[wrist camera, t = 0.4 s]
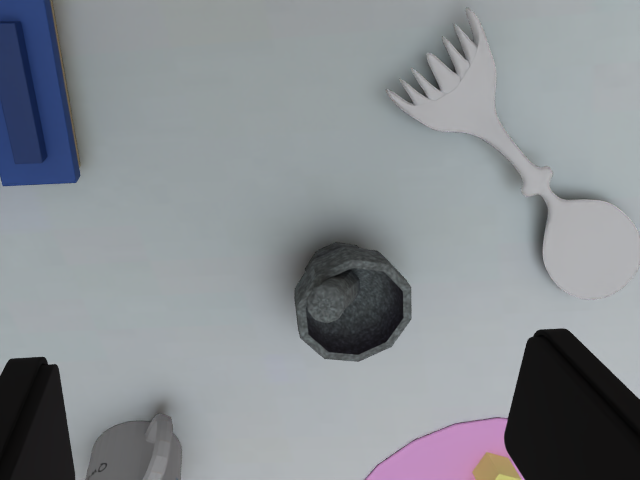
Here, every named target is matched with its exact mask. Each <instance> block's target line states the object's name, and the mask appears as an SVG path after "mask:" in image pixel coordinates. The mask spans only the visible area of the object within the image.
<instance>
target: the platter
mask: <svg viewBox="0 0 640 480" xmlns="http://www.w3.org/2000/svg"><path fill="white" fill-rule="evenodd" d="M507 421H508V419H505V418H492V419H485V420H478V421H471V422H464V423H457V424H454V425H451V426H449V427H446V428H444V429H441V430H439V431H436V432H434V433H431V434H429V435H426V436H423V437H421V438H418V439H416V440H413V441H412V442H411V443H409V444H408V445H406V446H405V447H403V448H402V449H400V450H399V451H397V452H396V453H395V454H393V455H392V456H390V457H389V458H387V459H386V460H384V461H383V462H381V463H380V464H379V465H377V466H376V467H375V469H374V470H373V471H372V472H371V473H370V474H369V475H368V477H367V478H366V479H365V480H525V479H524V478H523V476H522V475H521V473H520V471H519V470H518V468H517V467H516V465H515V464H514V462H513V460H512V459H511V457H510V456H509V454H508V452H507V450H506V447H505V443H504V433H505V429H506V425H507Z"/></svg>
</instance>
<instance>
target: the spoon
mask: <svg viewBox="0 0 640 480" xmlns="http://www.w3.org/2000/svg"><path fill="white" fill-rule="evenodd" d="M465 11H466V15H467V18H468V21H469V24H470V26H471V29H472V33H473V42H472V41H471V40H470V39H469V37H468V36H467V35H466V34H465V33H464V32H463V31H462V29H461V28H460V27H459V26H458V25H456V24H455V23H454V28H455V31H456V34H457V36H458V38H459V41H460V43H461V46H462V48H463V52H464V55H465V58H463V56H462V55H461V54H460V53H459V52H458V51H457V50H456V48H455V47H454V46H453V45H452V44H451V43H450V42H449V40H447V39H446V38H445V37H444V36H442V40H443V43H444V45H445V47H446V49H447V52H448V54H449V56H450V58H451V60H452V62H453V65H454V67H455V72H456V73H454V72H453V71H452V70H450V69H449V68H448V67H447V66H446V65H445V64H444V63H443V62H442V61H441V60H439V59H438V58H437V57H436V56H435V55H433V54H431V53H427V55H426V57H427V61H428V64H429V66H430V68H431V70H432V72H433V74H434V76H435V78H436V81H437V83H438V85H439V89H440V90H438V89H437V88H435V87H434V86H433V85H432V84H430V83H429V82H428V81H427V80H426V79H425V78H424V77H423V76H422V75H421V74H420V73H419V72H418V71H416V70H415V69H414V68H411V71H412V73H413V75H414V76H415V78H416V79H417V81H418V83H419V84H420V86H421V87H422V89H423V91H424V92H425V94H426V97H425V96H423V95H422V94H420V93H419V92H417V91H416V90H415V89H414V88H413V87H411V86H410V85H409V84H408V83H407V82H405V81H404V80H403V79H401V78H400V82H401V84H402V85H403V87H404V88H405V90H406V91H407V93H408V95H409V96H410V98H411V99H412V101H413V102H412V103H409V102H407V101H406V100H404V99H403V98H401V97H400V96H398V95H397V94H396V93H394V92H393V91H391V90H389V89H386V93H387V94H388V96H389V97H390V98H391V100H392V101H393V102H394V103H395V104H396V105H397V106H398V107H399V108H400V109H402V110H403V111H404V112H406V113H407V114H408V115H410V116H412V117H413V118H415V119H416V120H418V121H419V122H421V123H422V124H424V125H426V126H427V127H429V128H431V129H434V130H437V131H443V132H461V133H468V134H472V135H474V136H477V137H479V138H481V139H483V140H485V141H486V142H488V143H489V144H491V145H492V146H493V147H494V148H496V149H497V150H498V151H499V152H500V153H501V154H503V155H504V156H505V157H506V158H507V159H508V160H509V161H510V162H511V163H512V164H513V166H514V167H515V168H516V169H517V171H518V172H519V174H520V175H521V178H522V187H521V191H522V193H523V195H524V196H526V197H530V196H533V195H537V194H538V195H540V196H542V197H543V199H544V200H545V202H546V205H547V208H548V217H547V222H546V227H545V233H544V240H543V261H544V265H545V267H546V270H547V272H548V273H549V275H550V277H551V278H552V280H553V281H554V282H555V283H556V284H557V286H558V287H559V288H560V289H562V290H563V291H564V292H566V293H568V294H570V295H572V296H574V297H577V298H580V299H585V300H595V299H602V298H605V297H608V296H610V295H612V294H614V293H616V292H618V291H619V290H621V289H622V288H623V287H625V286H626V285H627V284H628V283H629V282H630V280H631V279H632V278H633V277H634V275H635V274H636V272H637V270H638V268H639V265H640V235H639V232H638V230H637V228H636V226H635V225H634V223H633V222H632V221H631V219H630V218H629V217H628V216H627V215H626V214H625V213H624V212H623V211H621V210H620V209H619V208H618V207H616V206H614V205H613V204H611V203H608V202H605V201H600V200H589V199H581V200H565V199H561V198H559V197H558V196H557V195H555V194H554V193H553V191H552V190H551V188H550V180H551V178H552V176H553V172H552V170H551V168H550V167H548V166H545V167H538V166H536V165H534V164H533V163H532V162H531V161H530V160H529V159H528V158H527V157H526V156H525V155H524V154H523V152H522V151H521V150H520V149H519V148H518V146H517V145H516V144H515V142H514V141H513V140H512V139H511V137H510V136H509V135H508V133H507V132H506V131H505V129H504V127H503V126H502V124H501V122H500V120H499V118H498V116H497V112H496V107H495V91H496V79H497V74H496V66H495V62H494V59H493V56H492V53H491V50H490V47H489V44H488V41H487V38H486V35H485V32H484V30H483V27H482V25H481V23H480V21H479V19H478V17H477V16H476V14H475V13H474V12H473V11H472V10H471V9H469V8H468V7H466V8H465Z"/></svg>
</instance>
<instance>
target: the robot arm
mask: <svg viewBox="0 0 640 480" xmlns="http://www.w3.org/2000/svg"><path fill="white" fill-rule="evenodd" d="M504 443H505V447H506V450H507V452H508V454H509V456H510V457H511V459H512V460H513V462H514V464H515V465H516V467H517V468H518V470H519V471H520V473H521V475H522V476H523V478H524V479H525V480H640V399H638V398H637V397H636V396H635V395H634V394H633V393H632V392H631V391H630V390H629V389H628V388H627V387H626V386H625V385H624V384H623V383H622V382H621V381H620V380H619V379H618V378H617V377H616V376H615V375H614V374H613V373H612V372H611V371H610V370H609V369H608V368H607V367H606V366H605V365H604V364H603V363H602V362H601V361H600V360H599V359H598V358H596V357H595V356H594V355H593V354H592V353H591V352H590V351H589V350H588V349H587V348H586V347H585V346H584V345H583V344H582V343H581V342H580V341H579V340H578V339H577V338H576V337H575V336H574V335H573V334H572V333H571V332H570V331H568V330H567V329H544V330H538V331H537V332H536V333H535V334H534V336H533V337H531V338H529V339H528V341H527V344H526V348H525V352H524V356H523V360H522V364H521V368H520V372H519V376H518V380H517V384H516V388H515V392H514V396H513V400H512V404H511V408H510V413H509V417H508V421H507V425H506V429H505V433H504ZM0 480H75V471H74V464H73V458H72V451H71V445H70V438H69V432H68V425H67V419H66V412H65V406H64V399H63V393H62V387H61V380H60V374H59V368H58V366H57V365H56V364H52V365H48V363H47V360H46V358H45V357H32V358H14V359H10V360H9V361H8V362H7V364H6V366H5V368H4V370H3V372H2V374H1V375H0Z"/></svg>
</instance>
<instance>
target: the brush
mask: <svg viewBox="0 0 640 480" xmlns="http://www.w3.org/2000/svg"><path fill="white" fill-rule="evenodd" d="M79 168H80V160H79V154H78V148H77V143H76V137H75V131H74V125H73V119H72V113H71V108H70V102H69V96H68V90H67V84H66V79H65V73H64V67H63V61H62V55H61V50H60V44H59V38H58V32H57V26H56V20H55V15H54V9H53V3H52V0H0V177H1V181H2V185H3V186H18V185H39V184H61V183H76V182H77V181H78V179H79V177H80V170H79Z"/></svg>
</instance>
